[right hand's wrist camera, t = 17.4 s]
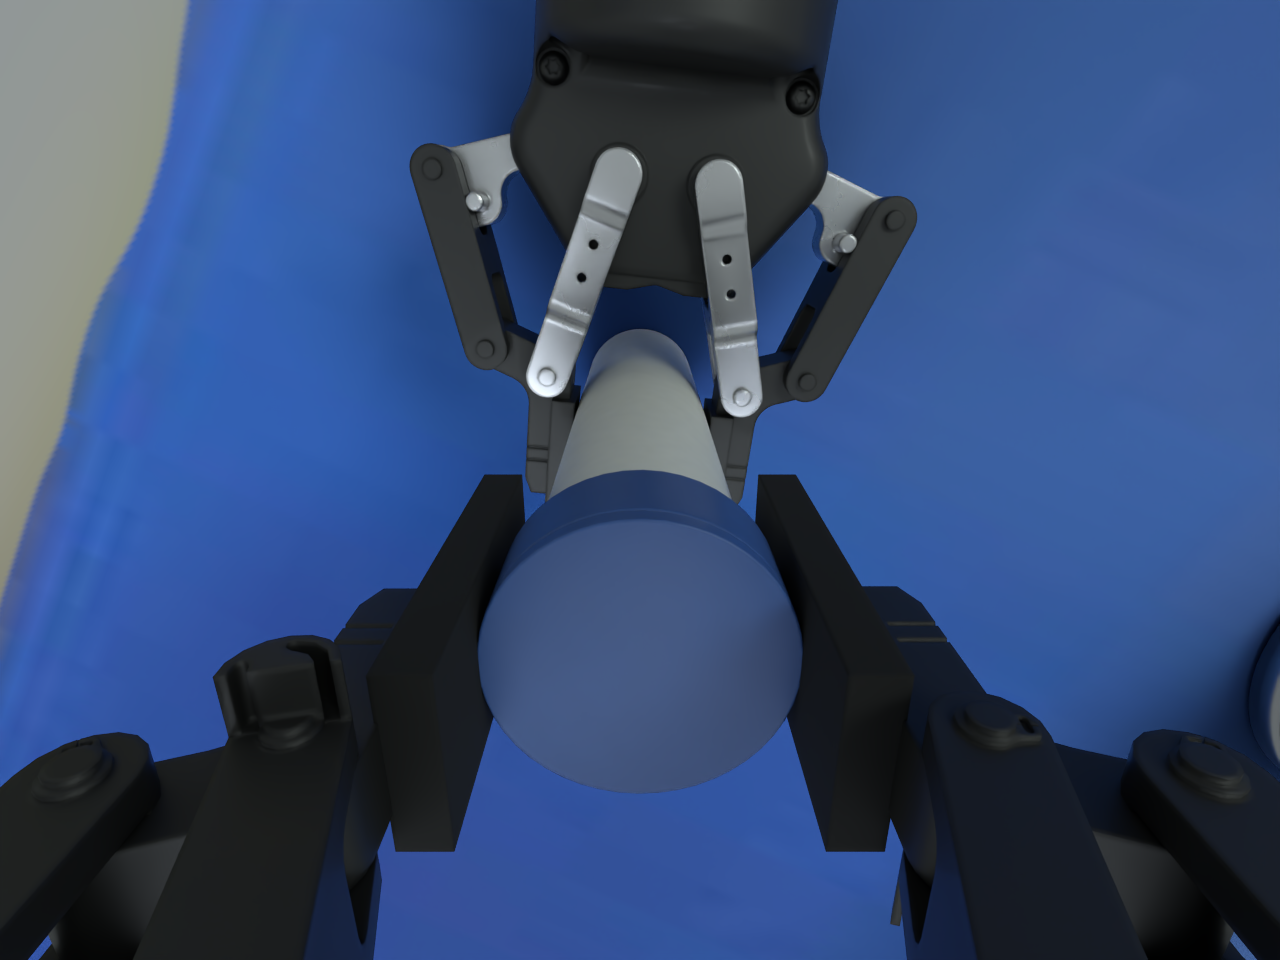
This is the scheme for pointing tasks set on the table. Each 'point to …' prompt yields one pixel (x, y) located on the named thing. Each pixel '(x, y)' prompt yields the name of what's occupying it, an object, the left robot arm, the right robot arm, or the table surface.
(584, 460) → the light grey cylinder
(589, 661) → the lid
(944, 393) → the table surface
